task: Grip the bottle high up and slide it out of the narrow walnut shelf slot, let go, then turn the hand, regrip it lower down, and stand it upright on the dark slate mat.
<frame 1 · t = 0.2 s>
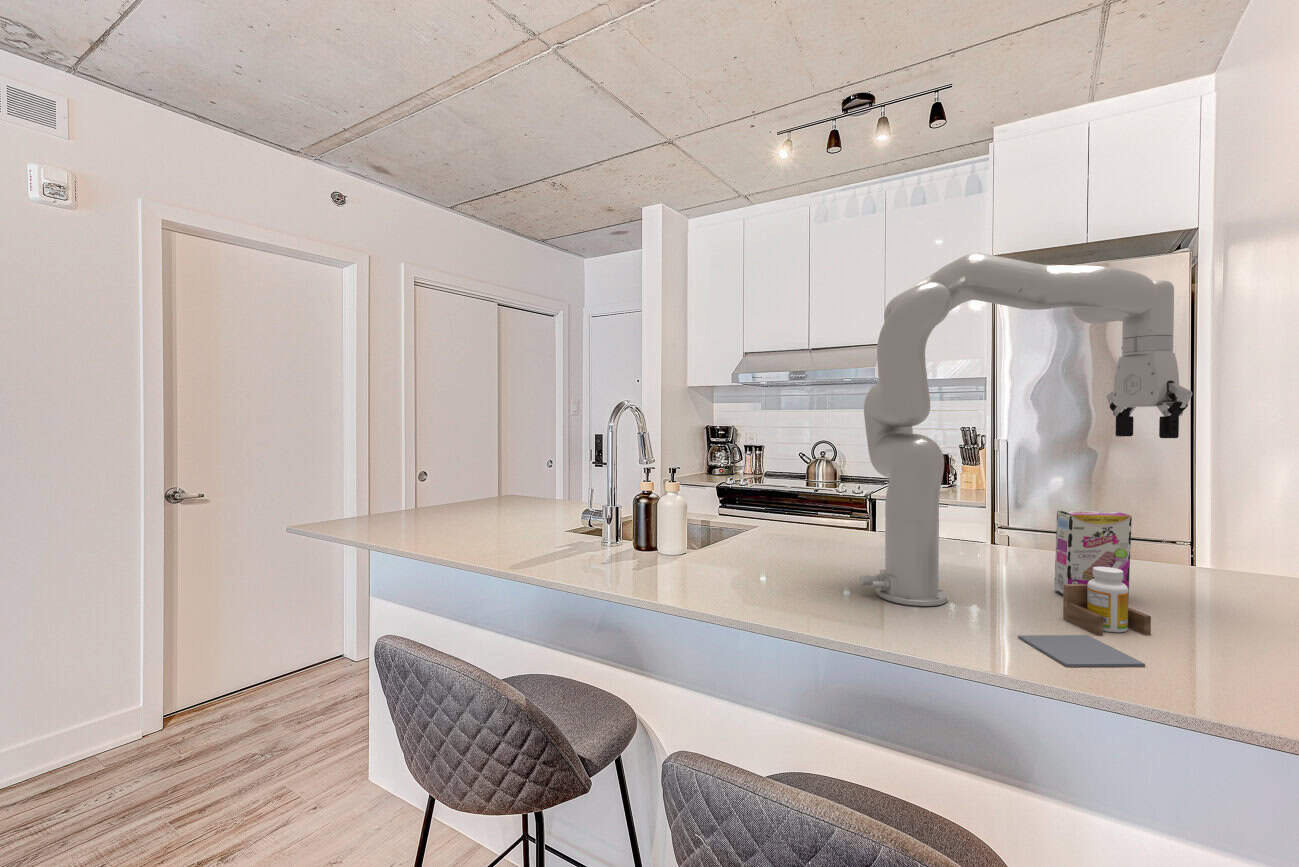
hand: (1145, 437, 115), 31 cm above the countertop, tool pointing down, fingers open, 9 cm apart
shelf slot: (1106, 627, 99), on the countertop
supplement bottle: (1106, 628, 99), on the countertop
candy bar box: (1091, 597, 116), on the countertop
slate mat: (1077, 651, 89), on the countertop
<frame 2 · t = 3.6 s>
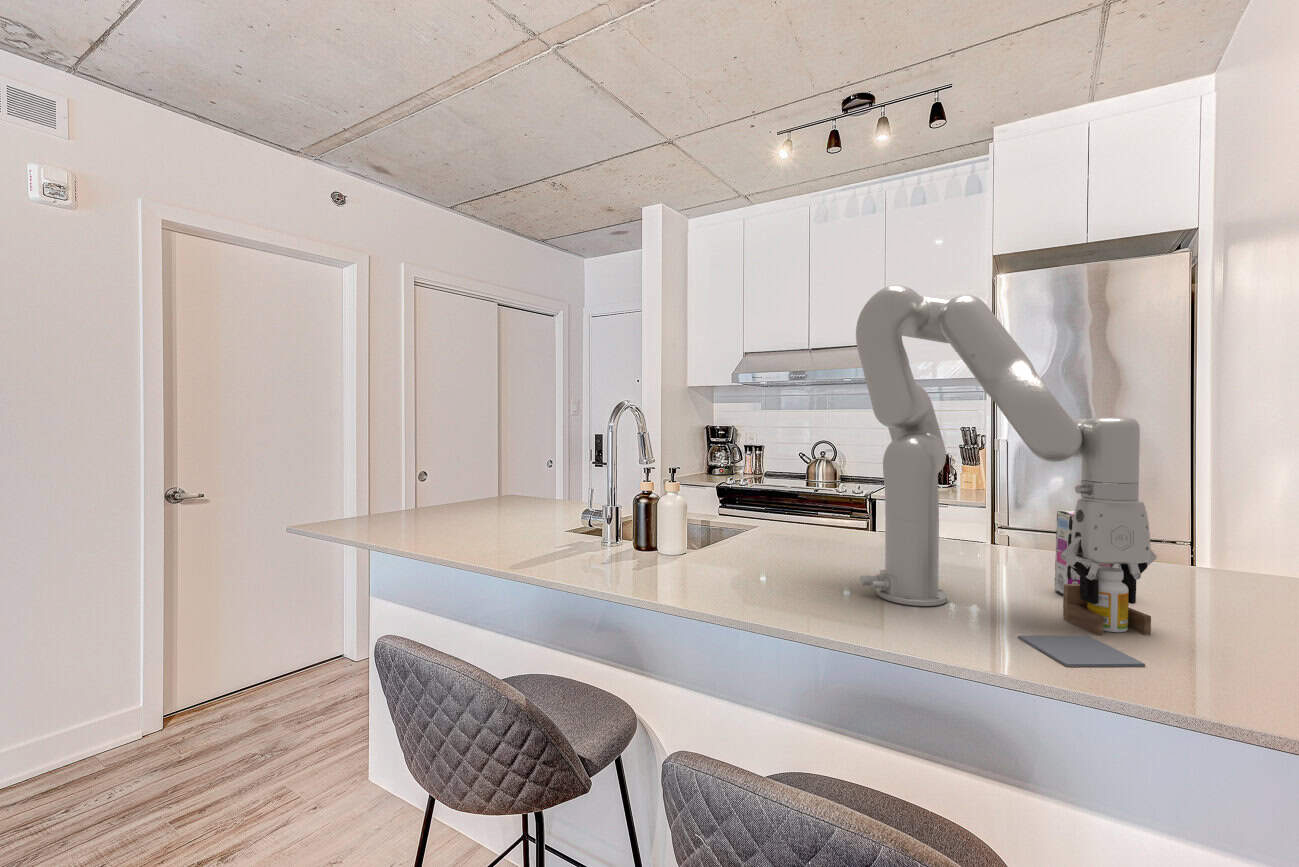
hand: (1107, 600, 99), 5 cm above the countertop, tool pointing down, fingers closed on supplement bottle, 5 cm apart
supplement bottle: (1106, 628, 99), on the countertop, touching gripper
everything else where it was.
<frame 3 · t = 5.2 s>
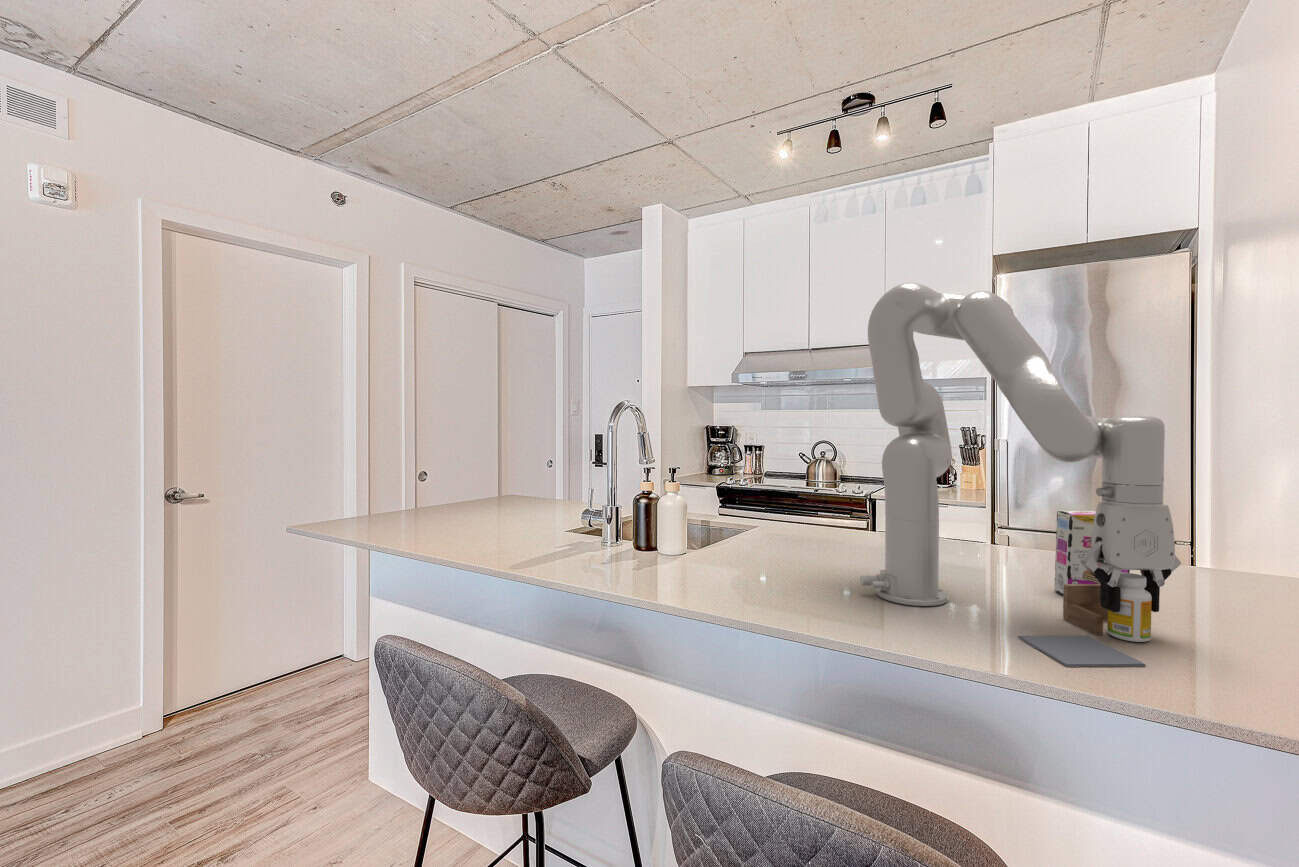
hand: (1129, 608, 94), 5 cm above the countertop, tool pointing down, fingers closed on supplement bottle, 5 cm apart
supplement bottle: (1128, 637, 95), on the countertop, touching gripper
everything else where it was.
when the fingers open (5 cm above the countertop, at t = 6.8 s): supplement bottle stays where it is, on the countertop.
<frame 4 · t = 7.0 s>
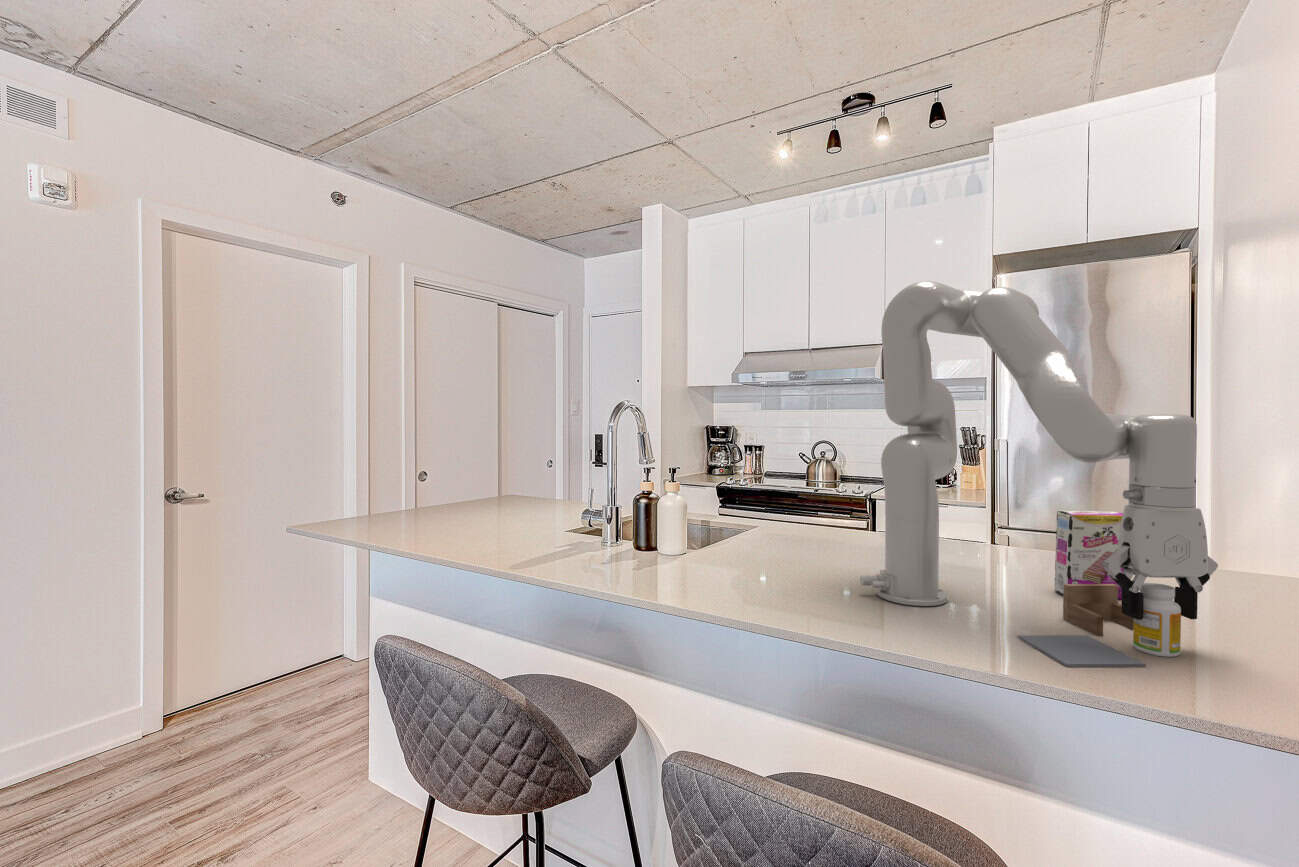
hand: (1158, 615, 89), 5 cm above the countertop, tool pointing down, fingers open, 7 cm apart
supplement bottle: (1156, 651, 89), on the countertop
everything else where it was.
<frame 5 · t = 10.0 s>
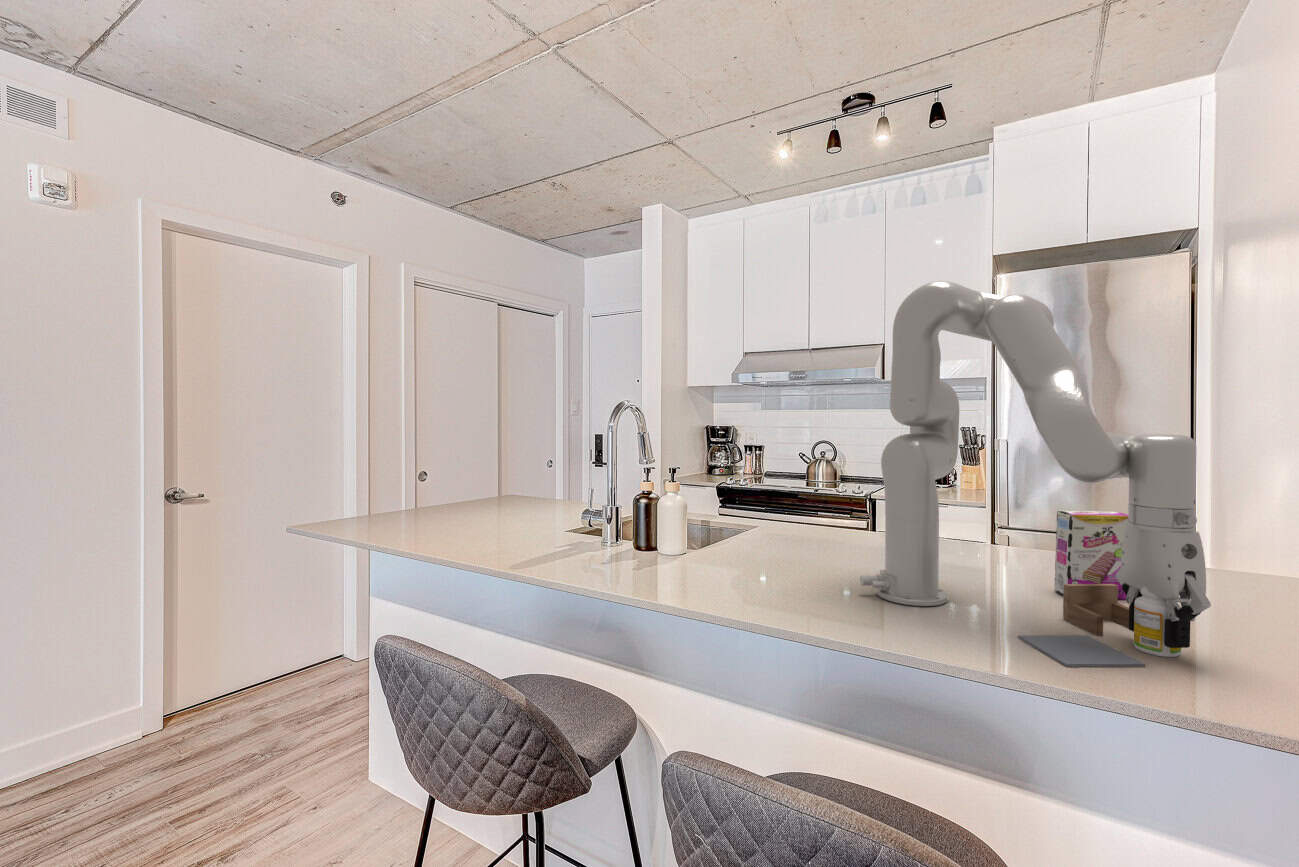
hand: (1158, 637, 89), 2 cm above the countertop, tool pointing down, fingers closed on supplement bottle, 5 cm apart
supplement bottle: (1156, 652, 89), on the countertop, touching gripper
everything else where it was.
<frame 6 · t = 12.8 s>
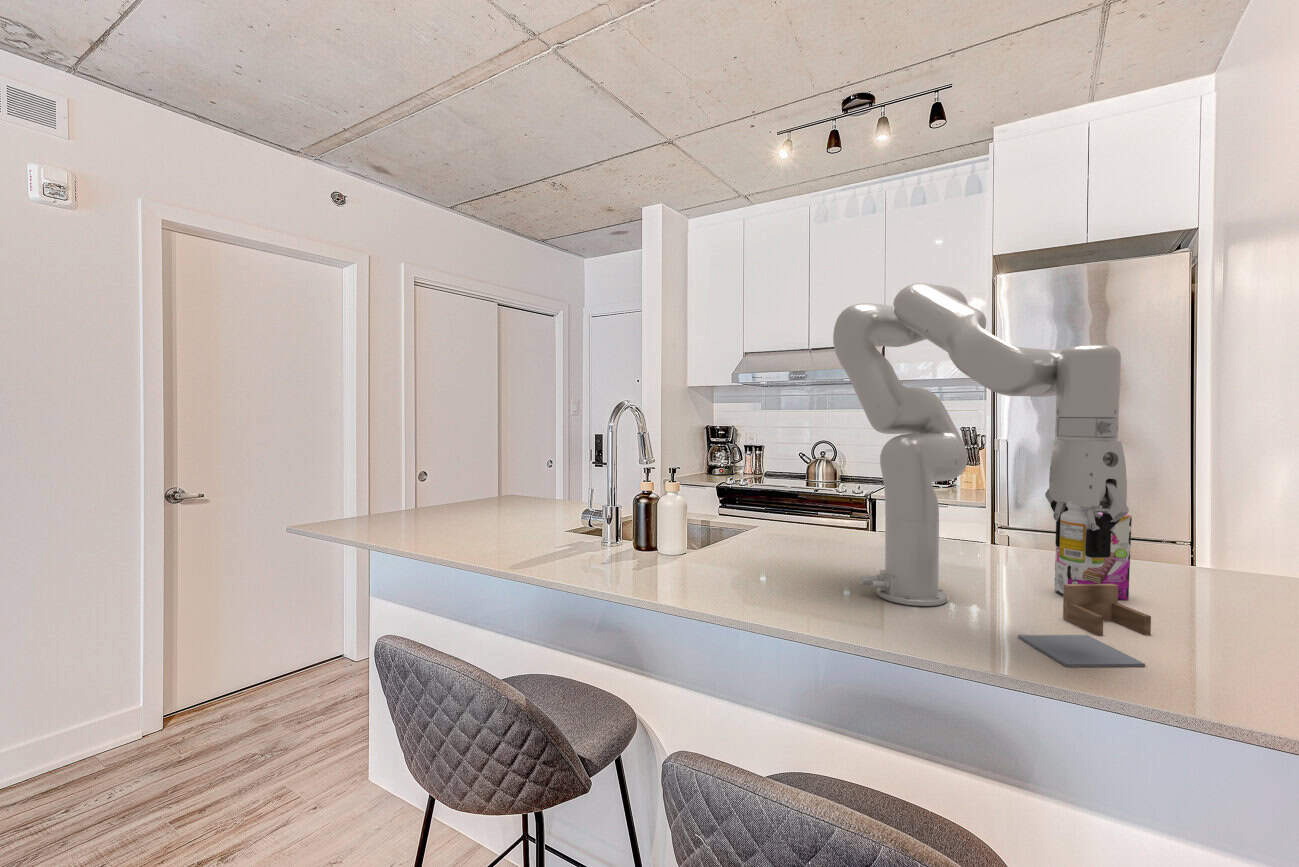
hand: (1081, 550, 89), 15 cm above the countertop, tool pointing down, fingers closed on supplement bottle, 5 cm apart
supplement bottle: (1080, 565, 89), point 13 cm above the countertop, touching gripper
everything else where it was.
when the fingers open (4 cm above the countertop, at t = 15.5 s): supplement bottle drops 1 cm, resting on slate mat.
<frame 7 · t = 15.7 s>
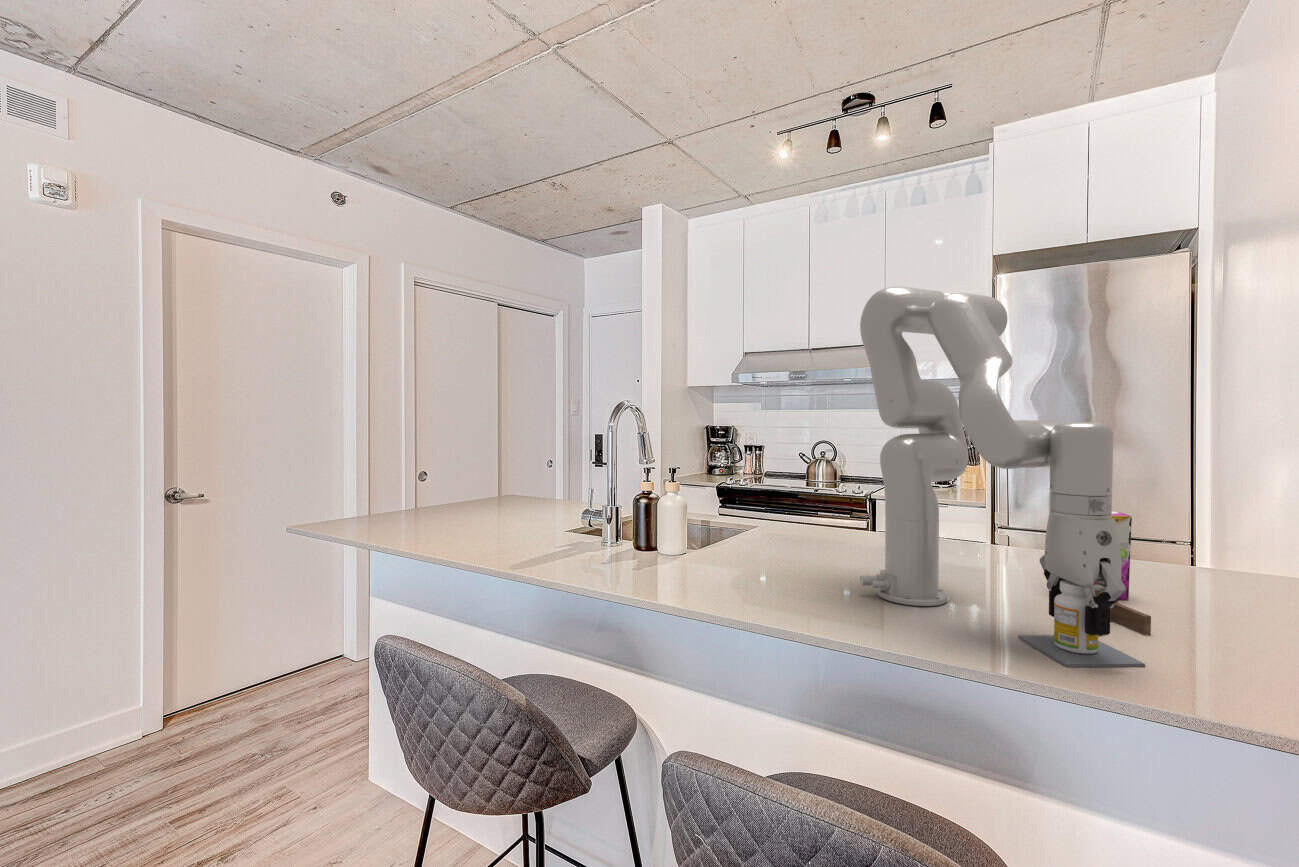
hand: (1077, 623, 89), 4 cm above the countertop, tool pointing down, fingers open, 7 cm apart
supplement bottle: (1075, 649, 89), resting on slate mat
everything else where it was.
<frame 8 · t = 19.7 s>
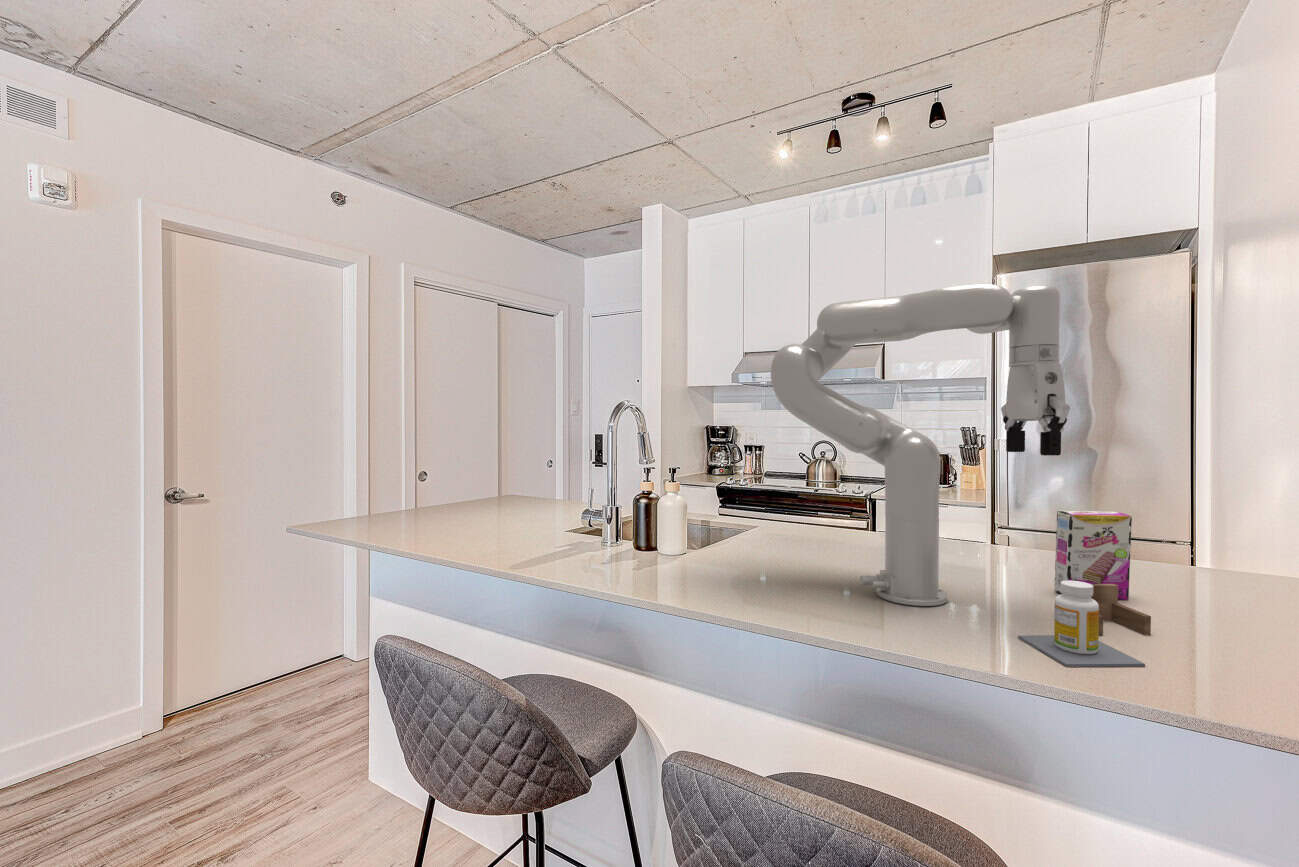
hand: (1032, 453, 107), 28 cm above the countertop, tool pointing down, fingers open, 9 cm apart
nothing on the countertop moved.
at the end: supplement bottle 0.3 cm off-centre on the slate mat, point 0.2 cm above the slate mat's base; supplement bottle tilted 0°; the gripper is holding nothing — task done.
